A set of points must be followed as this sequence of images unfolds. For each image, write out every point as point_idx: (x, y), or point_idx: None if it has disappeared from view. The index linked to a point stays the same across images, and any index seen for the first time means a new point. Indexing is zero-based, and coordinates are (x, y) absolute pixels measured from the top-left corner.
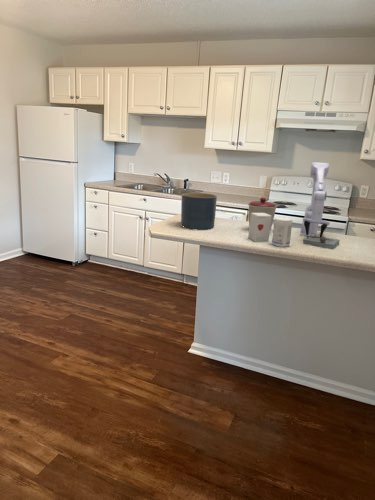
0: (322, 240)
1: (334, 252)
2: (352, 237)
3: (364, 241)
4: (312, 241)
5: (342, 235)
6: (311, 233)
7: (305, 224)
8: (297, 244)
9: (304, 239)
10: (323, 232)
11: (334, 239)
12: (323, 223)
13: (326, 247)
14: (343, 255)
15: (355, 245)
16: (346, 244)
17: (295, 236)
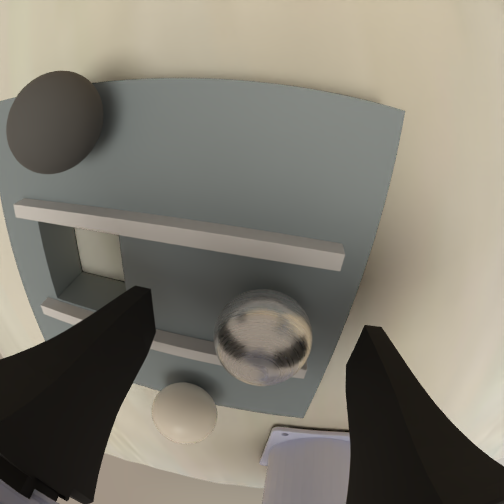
0: (54, 71)
1: (14, 6)
2: (112, 449)
3: None
4: (236, 80)
5: (157, 466)
6: (297, 351)
7: (485, 480)
8: (441, 35)
9: (393, 119)
10: (158, 427)
11: None
12: (17, 499)
13: None
14: None
15: (14, 330)
16: None
17: (437, 385)
